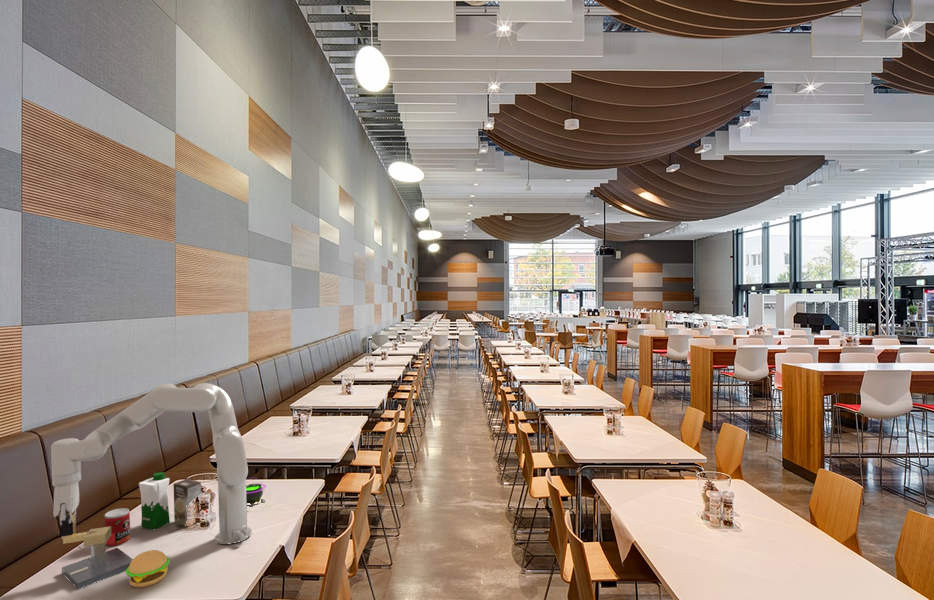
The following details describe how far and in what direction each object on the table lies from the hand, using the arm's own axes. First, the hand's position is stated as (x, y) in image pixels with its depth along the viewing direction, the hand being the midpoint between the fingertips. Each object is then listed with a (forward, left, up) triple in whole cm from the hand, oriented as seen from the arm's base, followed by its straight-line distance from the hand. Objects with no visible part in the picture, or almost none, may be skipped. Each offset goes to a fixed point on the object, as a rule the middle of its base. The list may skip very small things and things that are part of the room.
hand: (68, 532), depth 168 cm
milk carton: (+17, -32, -14) cm, 39 cm away
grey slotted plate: (-4, -7, -14) cm, 16 cm away
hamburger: (-24, -14, -15) cm, 32 cm away
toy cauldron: (+4, -66, -15) cm, 68 cm away
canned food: (+14, -18, -14) cm, 27 cm away
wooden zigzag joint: (-3, -4, -4) cm, 6 cm away
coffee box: (+9, -41, -14) cm, 44 cm away
